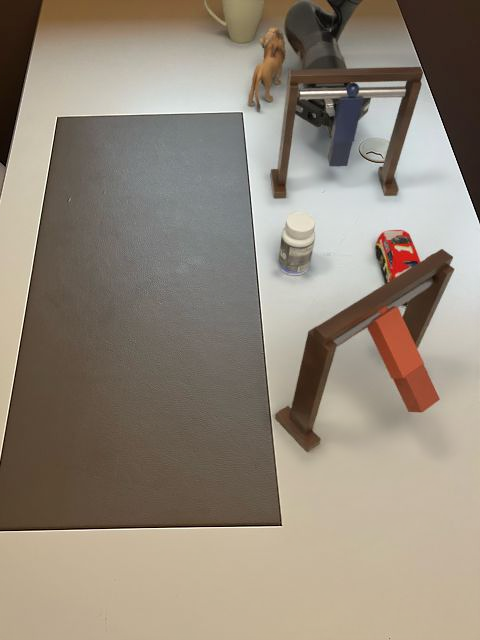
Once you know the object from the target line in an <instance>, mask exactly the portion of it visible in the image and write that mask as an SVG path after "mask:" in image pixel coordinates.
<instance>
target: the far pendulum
mask: <svg viewBox="0 0 480 640" xmlns="http://www.w3.org/2000/svg"><path fill="white" fill-rule="evenodd" d="M405 94H406V87H405V86H404V85H403V86H402V85H401V86H400V85H398V86H361V87H360V86H359V84H358V83H357V82H351V83H349V84H348V85H347V86H346V88H312V89H304V88H299V90H298V99H299V100H300V99H338V101H337V106H336V111H335V116H334V122H333V127H332V132H331V136H332V138H330V143H329V148H328V154H327V161H328V164H329V165H328V166H329V167H331V168H332V167H348V164H349V159H350V156H351V152H352V151H351V150H352V146H353V142H355V137H356V135H357V134H356V133H357V129H358V124H359V121H360V120H359V116H360V112H361V107H362V103H363V98H371V99H374V98H375V99H377V98H378V99H379V98H384V99H385V98H402V97H404V96H405ZM358 120H359V121H358Z"/></svg>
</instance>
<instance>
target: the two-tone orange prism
mask: <svg viewBox="0 0 480 640" xmlns="http://www.w3.org/2000/svg"><path fill="white" fill-rule="evenodd" d="M433 283H434V281H433V279H432V277H430V278H429V279H427V280H425V281H424V282H422V283H421V284H419V285H418V286H416V287H415V288H413V289H411V290H410V291H408V292H407V293H405V294H404V295H402V296H400V297H399V298H397V299H396V300H394V301H393V302H391V303H389V304H388V305H386V306H385V307H383V308H382V309H380V310H378V311H377V312H375V313H374V314H372V315H371V316H369V317H368V318H366V319H364V320H363V321H361V322H360V323H358V324H357V325H355V326H353V327H352V328H350V329H349V330H347V331H346V332H344V333H342V334H341V335H339V336H338V337H336V338H335V339H333V341H334V342H335V343H336V344H337V347H336V348H338V347H339V346H341V345H342V344H344V343H346V342H347V341H348V340H351V339H352V338H353V337H355V336H356V335H358V334H359V333H361V332H363V331H364V330H366V329H367V330H368V333H369V335H370V337H371V339H372V341H373V343H374V345H375V347H376V349H377V351H378V354H379V355H380V357H381V360H382V362H383V364H384V366H385V368H386V370H387V372H388V374H389V376H390V378H391V379H392V380H393V383H394V385H395V387H396V389H397V391H398V393H399V395H400V397H401V400H402V401H403V404H404V406H405V407H406V410H407V412H408V413H424V412H425V411H427V410H428V409H429V408H431V407H432V406H433V405H435V404H436V403H438V401H440V395H439V394H438V392H437V389H436V388H435V386H434V384H433V382H432V379H431V377H430V375H429V373H428V370H427V369H426V367H425V362H424V360H423V358H422V356H421V353H420V352H419V350H418V349H419V348H418V349H417V347H416V345H415V343H414V341H413V339H412V337H411V334H410V332H409V330H408V328H407V326H406V324H405V322H404V320H403V314H401V313H402V312H401V311H400V309H399V308H400V307H401V306H403V305H405V304H404V303H406V302H407V301H409V300H411V299H412V298H414V297H415V296H417V295H418V294H420V293H421V292H423V291H425V290H426V289H428V288H429V287H431V286H432V285H433Z"/></svg>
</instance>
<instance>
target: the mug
mask: <svg viewBox="0 0 480 640" xmlns="http://www.w3.org/2000/svg"><path fill="white" fill-rule="evenodd" d="M221 1H222V11H223V16H224V20H222V19H221V18H220V17H219V16H217V14H215V13H214V11H212V10H211V8H210V7H209V5H208V2H207V0H203V4H204V7H205V9H206V11H207V13H209V15H210V16H211V17H212V18H213V19H214V20H215V21H216V22H217V23H219V24H221V26H223V27H226V28H227V31H228V36H229V39H230V40H231V41H232V42H233V43H237V44H247V43H250V42H251V41H253V39H254V37H255V35H256V32H257V29H258V26H259V23H260V20H261V18H262V14H263V11H264V6H265V1H266V0H221Z"/></svg>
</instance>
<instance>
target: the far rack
mask: <svg viewBox="0 0 480 640" xmlns="http://www.w3.org/2000/svg"><path fill="white" fill-rule="evenodd" d="M423 75H424V71H423V69H422V66H397V67H396V66H394V67H389V66H388V67H355V68H354V67H353V68H352V67H350V68H348V67H347V68H346V69H304V70H301V69H289V73H288V77H287V83H286V92H285V100H284V109H283V117H282V125H281V135H280V142H279V150H278V151H279V152H278V159H277V168H271V169H270V175H269V176H270V183H271V189H272V196H273V199H286V198H287V193H288V192H287V187H286V186H287V178H288V171H289V164H290V156H291V149H292V141H293V136H294V135H293V134H294V128H295V119H296V114H295V112H296V105H297V97H298V91H299V89H300V84H301V85H303V84H308V83H350V82H351V83H388V82H405V87H406V94H405V96H404V97H401V99H400V103H399V107H398V110H397V115H396V118H395V122H394V124H393V129H392V132H391V135H390V139H389V142H388V146H387V150H386V153H385V157H384V161H383V163H382V166H378V171H377V174H378V175H377V176H378V177H379V181H380V185H381V188H382V192H383V195H384V196H387V197H388V196H389V197H390V196H398V192H399V187H398V183H397V180H396V177H395V174H396V171H397V168H398V165H399V161H400V159H401V155H402V151H403V148H404V145H405V141H406V139H407V135H408V132H409V128H410V126H411V121H412V119H413V115H414V111H415V109H416V105H417V101H418V98H419V95H420V92H421V89H422V86H423V83H422V78H423Z"/></svg>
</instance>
